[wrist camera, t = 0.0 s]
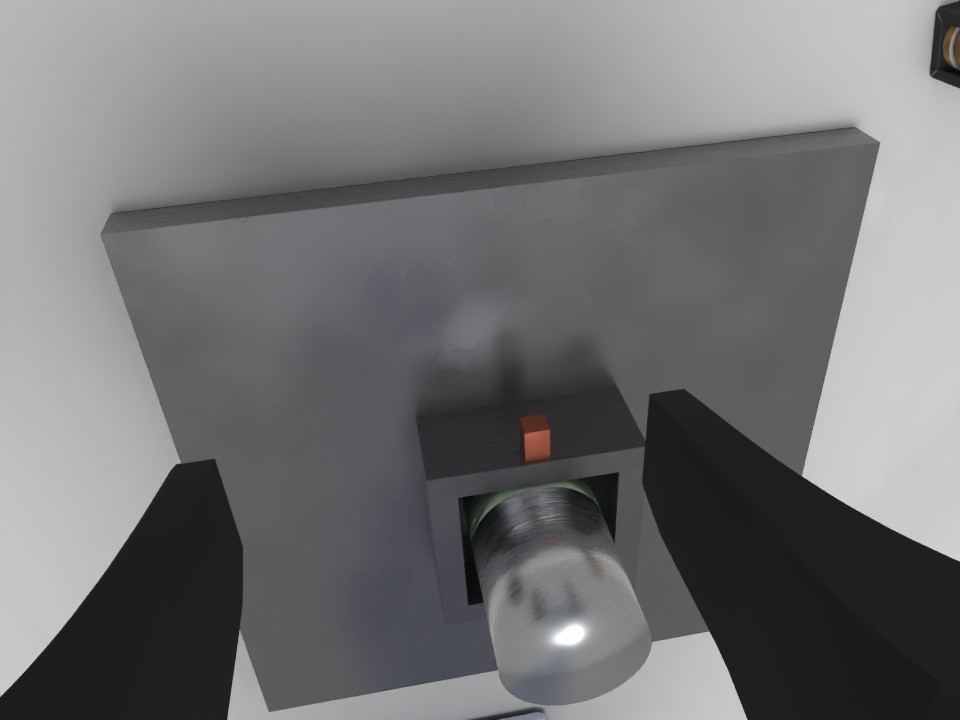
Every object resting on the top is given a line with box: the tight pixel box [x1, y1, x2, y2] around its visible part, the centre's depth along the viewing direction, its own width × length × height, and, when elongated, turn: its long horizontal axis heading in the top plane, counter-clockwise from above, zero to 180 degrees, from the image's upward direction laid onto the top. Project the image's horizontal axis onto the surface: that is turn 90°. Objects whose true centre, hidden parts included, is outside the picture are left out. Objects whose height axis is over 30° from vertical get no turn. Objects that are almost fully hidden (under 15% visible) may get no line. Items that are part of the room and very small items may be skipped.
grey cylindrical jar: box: [461, 477, 652, 705], centre depth 23 cm, size 4×4×6 cm
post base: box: [101, 128, 880, 712], centre depth 26 cm, size 20×20×4 cm
